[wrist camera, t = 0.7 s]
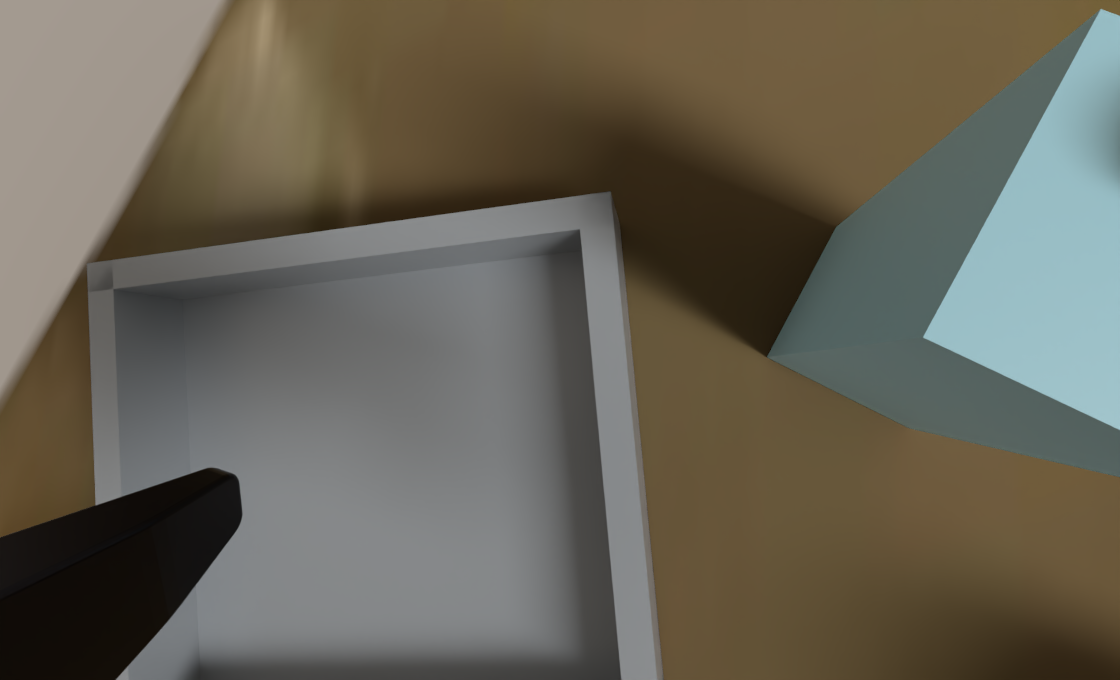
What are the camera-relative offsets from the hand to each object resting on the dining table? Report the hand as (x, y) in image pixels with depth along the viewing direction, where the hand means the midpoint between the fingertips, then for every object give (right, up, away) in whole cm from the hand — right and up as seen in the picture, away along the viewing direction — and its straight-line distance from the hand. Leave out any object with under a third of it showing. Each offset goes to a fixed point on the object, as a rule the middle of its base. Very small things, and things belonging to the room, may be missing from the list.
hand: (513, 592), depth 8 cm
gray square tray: (-5, -2, +14) cm, 15 cm away
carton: (+11, +4, +12) cm, 17 cm away
